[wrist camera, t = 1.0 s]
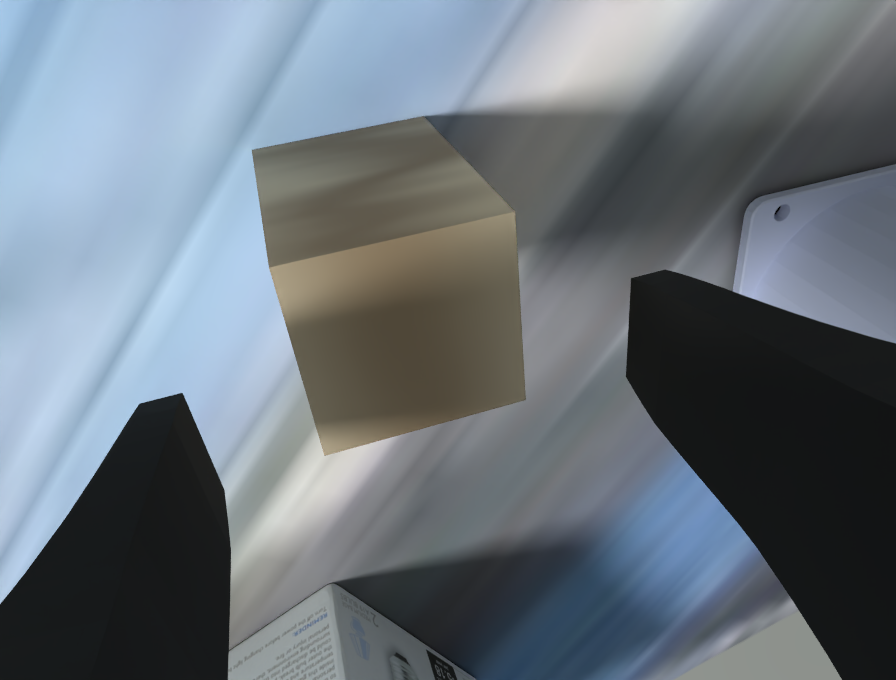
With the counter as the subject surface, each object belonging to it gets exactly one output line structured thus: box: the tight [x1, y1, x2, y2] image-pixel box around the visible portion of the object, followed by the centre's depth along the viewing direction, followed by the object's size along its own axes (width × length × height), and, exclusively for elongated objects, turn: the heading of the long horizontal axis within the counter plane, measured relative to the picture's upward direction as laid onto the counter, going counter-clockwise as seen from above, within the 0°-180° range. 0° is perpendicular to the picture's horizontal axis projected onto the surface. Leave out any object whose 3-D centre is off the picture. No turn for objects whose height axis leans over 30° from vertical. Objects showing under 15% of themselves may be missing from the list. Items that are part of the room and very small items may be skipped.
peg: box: [252, 116, 526, 456], centre depth 14 cm, size 4×4×6 cm
